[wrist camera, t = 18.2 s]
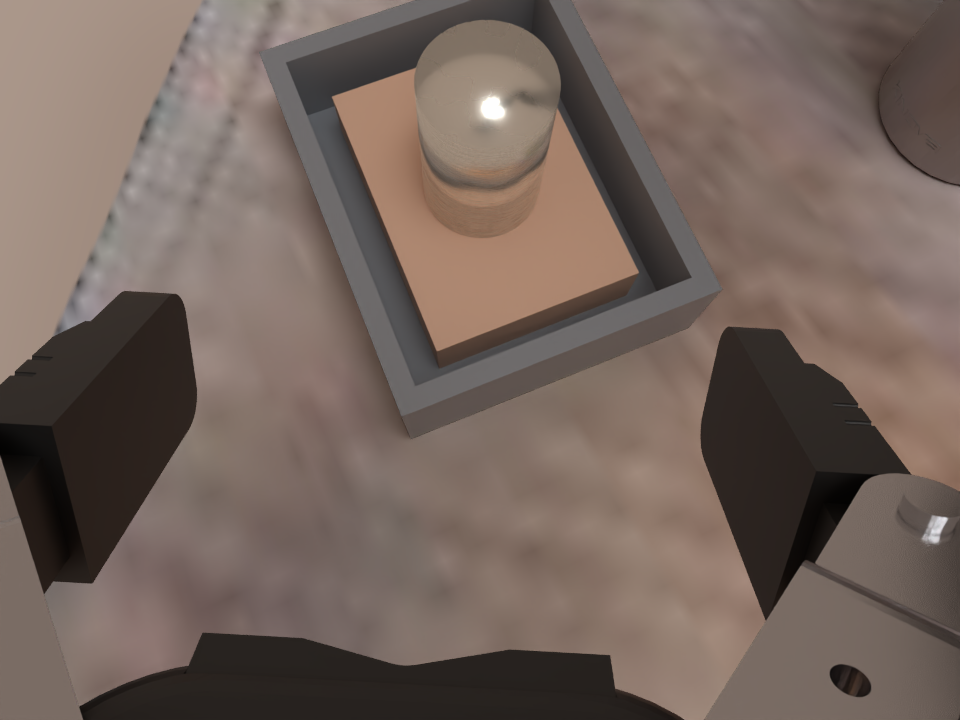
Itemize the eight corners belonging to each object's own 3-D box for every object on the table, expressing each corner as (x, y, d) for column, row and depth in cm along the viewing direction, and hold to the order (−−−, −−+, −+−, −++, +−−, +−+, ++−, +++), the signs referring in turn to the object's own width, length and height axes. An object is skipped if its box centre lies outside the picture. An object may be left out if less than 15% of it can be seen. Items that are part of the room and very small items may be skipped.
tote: (538, 30, 44) (548, -45, 39) (688, 327, 39) (722, 289, 34) (285, 117, 42) (258, 52, 37) (410, 438, 38) (401, 416, 32)
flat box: (516, 69, 42) (519, 32, 39) (626, 295, 39) (639, 272, 36) (341, 130, 41) (331, 96, 38) (439, 368, 38) (436, 351, 35)
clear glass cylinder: (508, 116, 38) (522, 0, 30) (558, 211, 37) (585, 115, 29) (404, 157, 37) (391, 49, 29) (452, 255, 36) (450, 169, 28)
